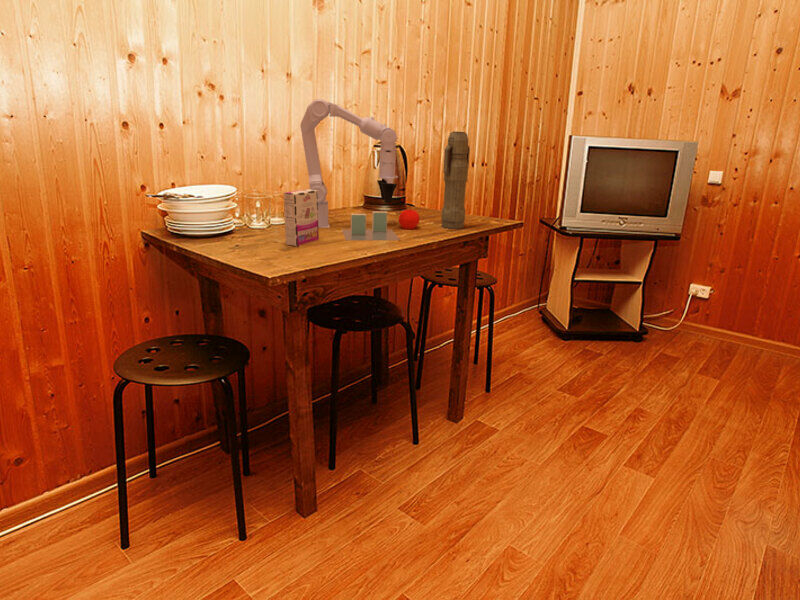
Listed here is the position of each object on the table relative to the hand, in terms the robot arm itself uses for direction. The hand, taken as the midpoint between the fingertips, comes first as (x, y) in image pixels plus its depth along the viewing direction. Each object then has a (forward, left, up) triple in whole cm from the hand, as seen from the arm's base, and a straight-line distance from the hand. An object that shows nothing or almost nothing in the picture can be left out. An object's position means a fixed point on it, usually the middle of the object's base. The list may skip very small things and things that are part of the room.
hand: (386, 201), depth 197 cm
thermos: (+26, +2, -10) cm, 28 cm away
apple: (+8, -3, -10) cm, 13 cm away
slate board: (-8, -15, -10) cm, 19 cm away
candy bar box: (-31, -25, -10) cm, 41 cm away
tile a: (-12, -15, -9) cm, 21 cm away
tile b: (-4, -10, -9) cm, 14 cm away
